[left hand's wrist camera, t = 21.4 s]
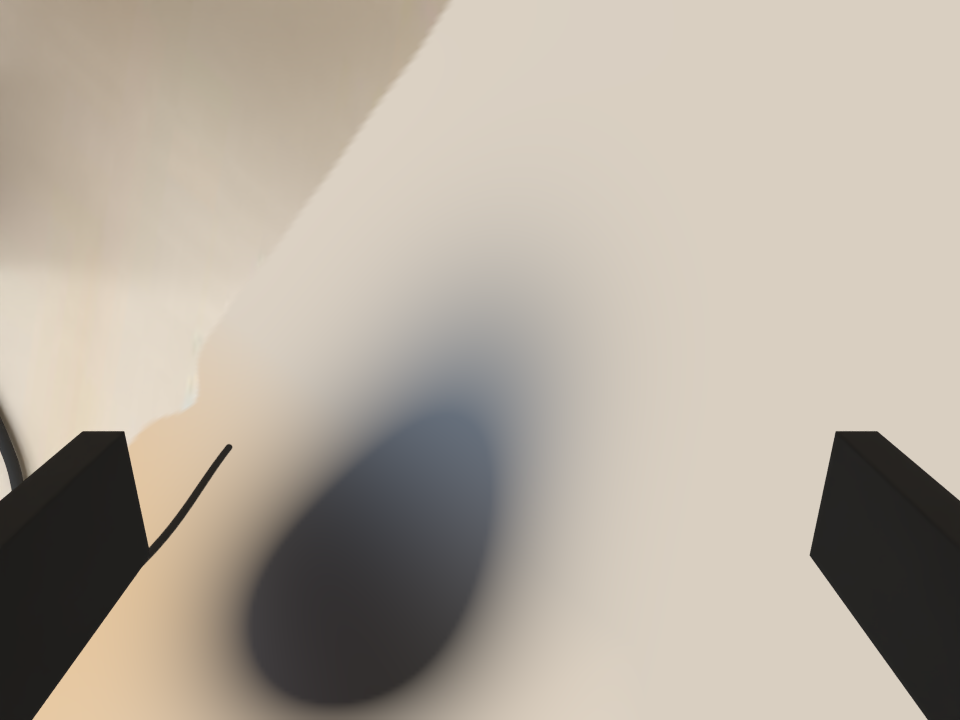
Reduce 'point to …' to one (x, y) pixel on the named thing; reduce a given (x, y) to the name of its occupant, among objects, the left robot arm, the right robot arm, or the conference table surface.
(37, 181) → the conference table surface
